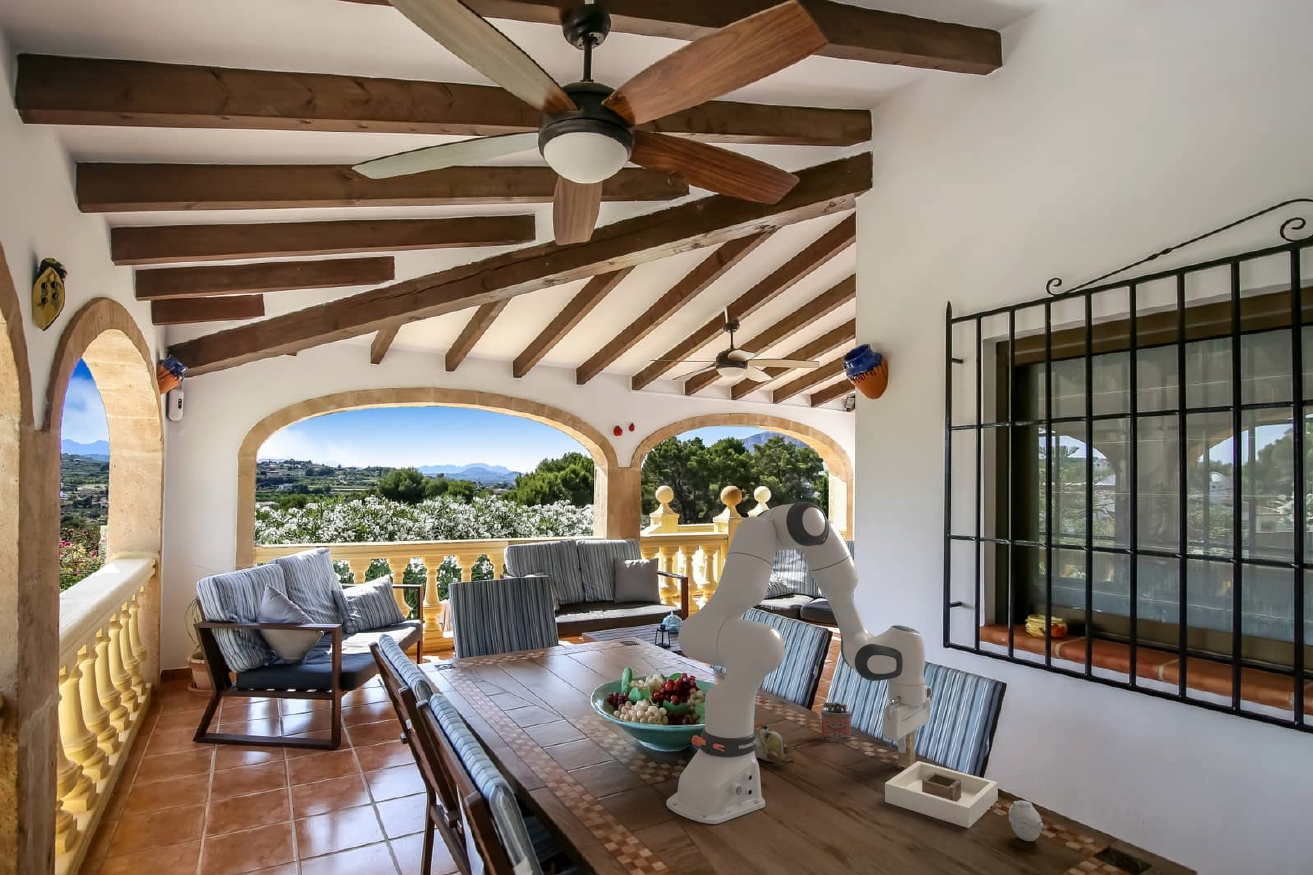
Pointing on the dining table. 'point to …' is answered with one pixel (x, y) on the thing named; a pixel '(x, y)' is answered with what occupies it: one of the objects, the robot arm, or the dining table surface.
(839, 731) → the lighter
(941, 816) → the tray
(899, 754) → the tan wooden block
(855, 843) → the dining table surface
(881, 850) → the dining table surface
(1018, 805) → the grey rounded stone
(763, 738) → the ceramic sculpture
